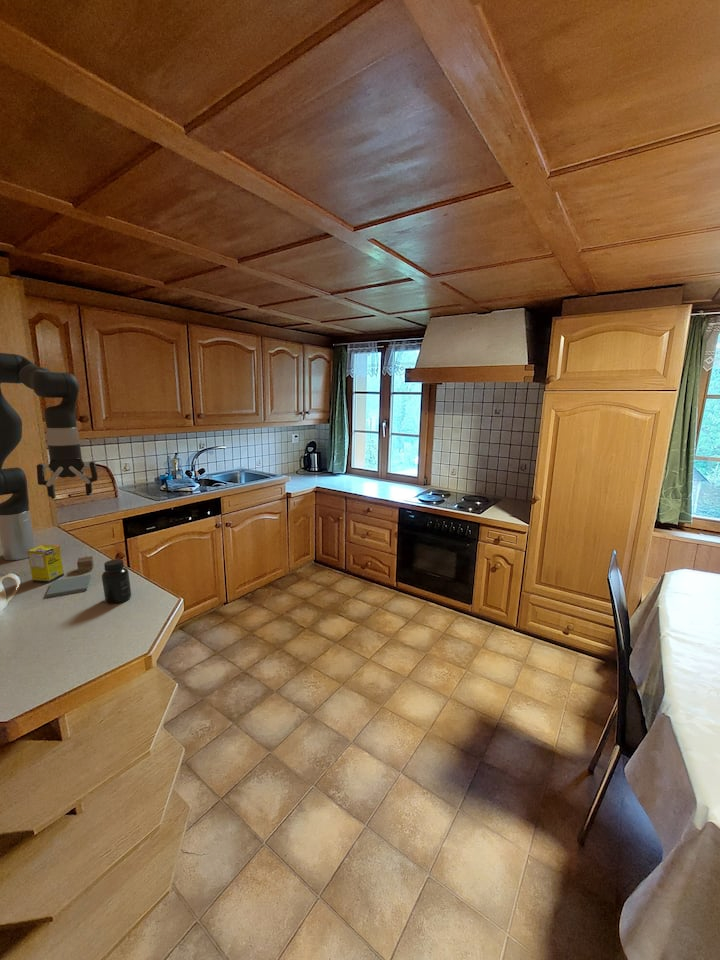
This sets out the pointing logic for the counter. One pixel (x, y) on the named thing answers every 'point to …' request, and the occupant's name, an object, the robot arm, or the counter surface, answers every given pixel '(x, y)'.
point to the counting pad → (68, 586)
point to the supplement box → (45, 563)
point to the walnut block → (85, 564)
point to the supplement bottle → (116, 582)
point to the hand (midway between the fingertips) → (71, 496)
